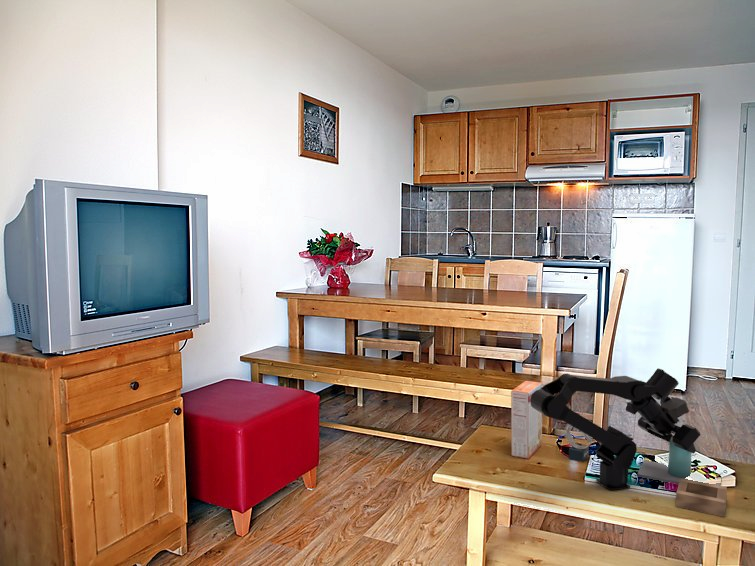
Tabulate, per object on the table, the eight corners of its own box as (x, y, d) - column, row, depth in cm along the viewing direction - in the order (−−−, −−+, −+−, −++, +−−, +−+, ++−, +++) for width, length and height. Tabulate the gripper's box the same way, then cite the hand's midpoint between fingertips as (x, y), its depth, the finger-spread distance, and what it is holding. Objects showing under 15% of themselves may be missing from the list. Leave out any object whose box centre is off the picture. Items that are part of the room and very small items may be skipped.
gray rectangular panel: (721, 477, 166) (721, 474, 166) (719, 493, 156) (719, 489, 156) (644, 463, 177) (644, 460, 177) (637, 477, 167) (637, 473, 167)
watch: (589, 463, 177) (590, 427, 176) (562, 457, 182) (563, 422, 181) (595, 457, 182) (596, 422, 181) (568, 452, 186) (569, 417, 185)
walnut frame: (675, 506, 149) (676, 492, 149) (680, 490, 158) (680, 478, 158) (724, 516, 143) (725, 502, 143) (726, 500, 152) (726, 486, 152)
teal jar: (684, 479, 162) (686, 443, 162) (664, 473, 167) (666, 438, 166) (694, 474, 166) (695, 439, 165) (673, 468, 170) (675, 434, 170)
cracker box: (524, 442, 195) (524, 379, 193) (542, 445, 192) (543, 382, 190) (509, 456, 183) (510, 389, 182) (528, 459, 180) (529, 392, 178)
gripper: (695, 398, 155) (729, 437, 158) (647, 381, 173) (679, 416, 176) (668, 430, 153) (703, 468, 157) (623, 410, 172) (655, 444, 175)
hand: (684, 447), depth 166 cm, fingers open, 7 cm apart
